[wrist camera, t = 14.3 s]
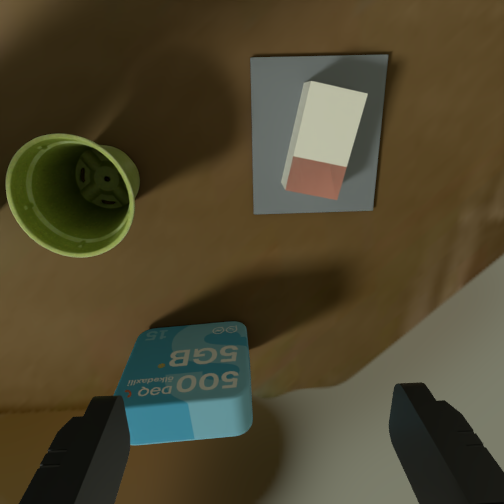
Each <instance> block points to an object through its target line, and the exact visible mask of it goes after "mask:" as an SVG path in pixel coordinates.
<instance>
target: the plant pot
mask: <svg viewBox="0 0 504 504" xmlns="http://www.w3.org/2000/svg"><path fill="white" fill-rule="evenodd" d="M100 152H101V153H102V154H104V155H101V154H100ZM82 168H84V169H85V173H84V178H85V182H82V180H81V177H80V175H81V173H80V172H81V169H82ZM105 176H106V177H109V178H110V180H109V181H105V180H104V177H105ZM139 186H140V178H139V173H138V170H137V167H136V165H135V164H134V163H133V161H132V160H131V159H130V158H129V157H128V156H127V155H126V154H125V153H124V152H123V151H121V150H119V149H117V148H115V147H112V146H106V145H98V144H97V143H95V142H93V141H91V140H88V139H86V138H83V137H80V136H76V135H71V134H58V133H57V134H48V135H43V136H40V137H37V138H34V139H33V140H31V141H29V142H28V143H26V144H25V145H24V146H22V147H21V148H20V149H19V150H18V151H17V152H16V154H15V155H14V156H13V158H12V160H11V162H10V164H9V167H8V170H7V174H6V194H7V200H8V203H9V206H10V209H11V211H12V213H13V215H14V217H15V219H16V221H17V222H18V223H19V225H20V226H21V228H22V229H23V230H24V231H25V232H26V233H27V234H28V235H29V236H30V237H31V238H32V239H33V240H34V241H36V242H37V243H38V244H40V245H41V246H43V247H44V248H46V249H48V250H50V251H53V252H55V253H58V254H60V255H64V256H70V257H91V256H96V255H99V254H102V253H104V252H107V251H108V250H110V249H112V248H113V247H115V246H116V245H117V244H118V243H119V242H120V241H121V240H122V239H123V238H124V237H125V236H126V234H127V232H128V231H129V229H130V227H131V224H132V221H133V218H134V213H135V197H136V195H137V193H138V190H139ZM101 200H106V201H115V203H114V204H105V203H103V202H102V201H101Z"/></svg>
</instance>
